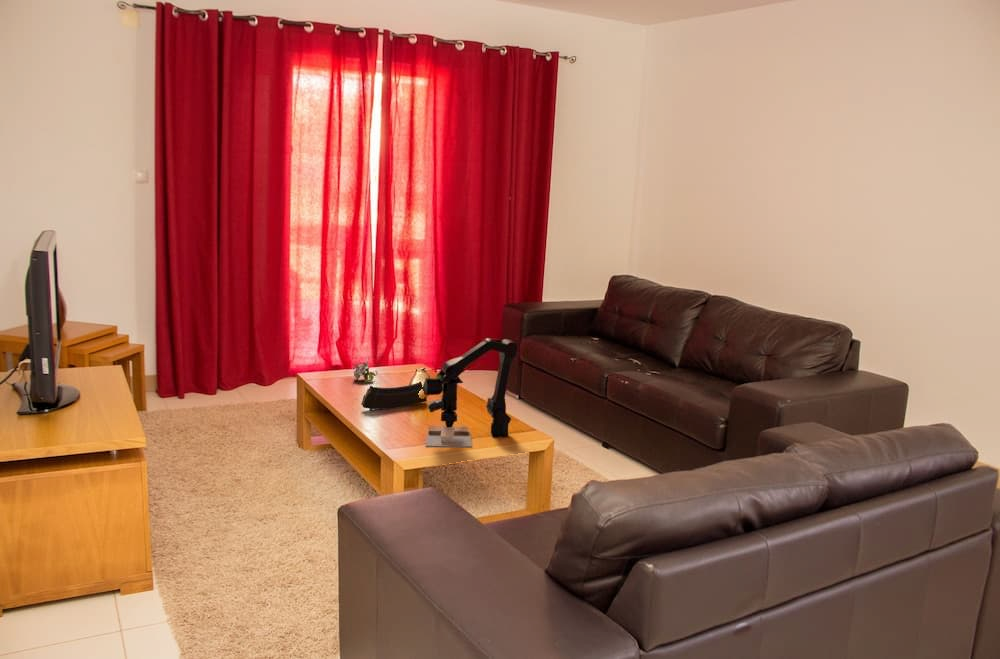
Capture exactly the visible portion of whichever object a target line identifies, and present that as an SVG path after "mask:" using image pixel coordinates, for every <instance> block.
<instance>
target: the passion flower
mask: <svg viewBox="0 0 1000 659" xmlns="http://www.w3.org/2000/svg"><path fill="white" fill-rule="evenodd" d="M368 364H369V360H366V362H365V361H364V362H362V363H360V364H359V362H356V363H355V365H354V366H353V367H352V370H354V371H353V377H354V378H355V379H354V381H355V380H357V381H358V380H359V378H360V377H361V376H362V377H363V380H364V383H365V384H366V383H367V384H368V381H369V382H370V383H371V382H372V381H373V380H374V377H377V376H378V370H375V371H369V370H370V367H369V365H368Z"/></svg>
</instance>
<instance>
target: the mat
mask: <svg viewBox="0 0 1000 659" xmlns="http://www.w3.org/2000/svg"><path fill="white" fill-rule="evenodd" d="M425 447H426V448H431V447H432V448H473V442H472V434H471V435H470V434H468V435H454V441H453V442H444V441H441V435H429V434H425Z"/></svg>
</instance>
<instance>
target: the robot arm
mask: <svg viewBox="0 0 1000 659" xmlns="http://www.w3.org/2000/svg"><path fill="white" fill-rule="evenodd" d="M518 350H519V346H518V345H517V343H515V342H514V341H512V340H511V339H508V338H504V339H494V338H490V337H487V338H485V339H483V340H482V341H481V342H480V343H478V344H476V345H475V346H474V347H472V348H471V349H469V350H468V351H466V352H465V353H463V354H462V355H461V356H459V357H455V358H452V359H449V360H447V361H445V362H444V363H443V364H442V366H441V370H439V372H438V374H436V377H425V378H424V379H425V380H424V382H423V384H422V386H423V391H424V394H425V395H426V396H435V395H436V396H439V395H441V394H442V395H441V397H440V398H436V399H433V400H430V401H427V408H428V410H429V413H434V412H435V411H441V414H440V422H444V424H445V426H446V427H452V426H453V425H454V424H455V422H458V413H457V412H456V411H458V410H457V409H458V403H457V401H458V384H463V383H464V382H463V380H462V379H461V378H460V377H459V376H460V375H461V374H462V373H463V372H464V371H465V369H466V368H467V367H469V365H471V364H472V363H473V362H475V361H476V360H478V359H479V358H481V357H483V355H485V354H487V353H488V352H490V351H496V352H498V355H499V365H498V370H497V376H496V381H495V386H494V391H493V395H492V396H491V397H488V398H487V403H486V406H485V407H486V410H487V413H488V414H489V415H490V416H491V418H492V422H491V423H490V434H491V436H492V438H509V424H510V422H511V420H512V417H510V416H509V415H508V414H507V413H506V412H507V404H506V398H505V397H506V393H507V388H508V382H509V377H510V371H511V366H512V363H513V362H514V360H515V359H516V357H517V354H518Z"/></svg>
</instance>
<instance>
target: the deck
mask: <svg viewBox="0 0 1000 659" xmlns="http://www.w3.org/2000/svg"><path fill="white" fill-rule="evenodd" d="M442 427H446V425H444V426H443V425H440V426H439V425H434V426H433V425H429V426H428V435H441V429H442ZM452 427H454V435H469V426H459V425H458V426H452Z"/></svg>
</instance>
